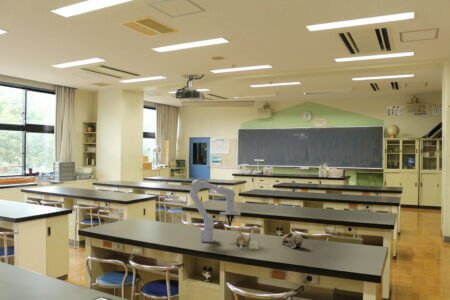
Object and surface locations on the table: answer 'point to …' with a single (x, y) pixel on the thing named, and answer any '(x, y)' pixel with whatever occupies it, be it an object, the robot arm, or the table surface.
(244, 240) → the wooden block
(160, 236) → the table surface
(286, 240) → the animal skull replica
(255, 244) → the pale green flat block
